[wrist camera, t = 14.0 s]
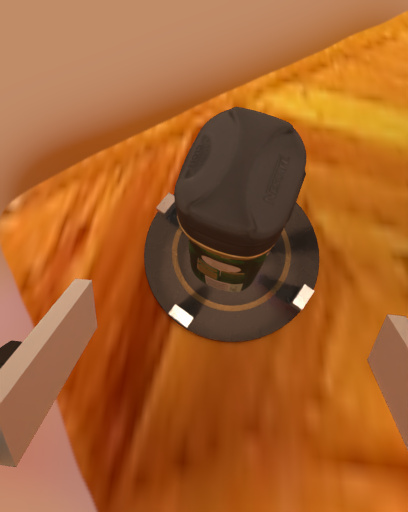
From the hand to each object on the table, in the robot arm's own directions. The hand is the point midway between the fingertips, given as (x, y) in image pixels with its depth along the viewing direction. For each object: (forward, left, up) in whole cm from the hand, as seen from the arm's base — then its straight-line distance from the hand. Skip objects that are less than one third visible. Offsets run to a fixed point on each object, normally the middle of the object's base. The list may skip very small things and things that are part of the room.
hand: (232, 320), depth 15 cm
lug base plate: (+5, -8, -22) cm, 24 cm away
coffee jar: (+5, -8, -21) cm, 23 cm away
